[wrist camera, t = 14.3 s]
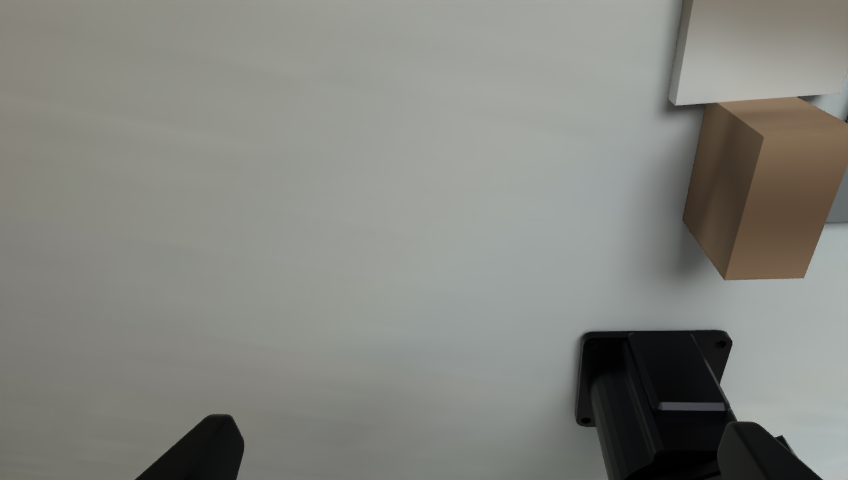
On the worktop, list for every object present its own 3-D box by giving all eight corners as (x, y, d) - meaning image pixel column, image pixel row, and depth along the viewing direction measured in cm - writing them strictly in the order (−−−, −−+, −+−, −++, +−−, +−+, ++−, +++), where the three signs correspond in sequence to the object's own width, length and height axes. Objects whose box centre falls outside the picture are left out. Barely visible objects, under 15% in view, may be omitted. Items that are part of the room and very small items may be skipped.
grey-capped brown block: (782, 215, 19) (848, 276, 15) (647, 221, 19) (682, 281, 16) (884, -94, 13) (1017, -102, 10) (694, -70, 14) (760, -70, 11)
